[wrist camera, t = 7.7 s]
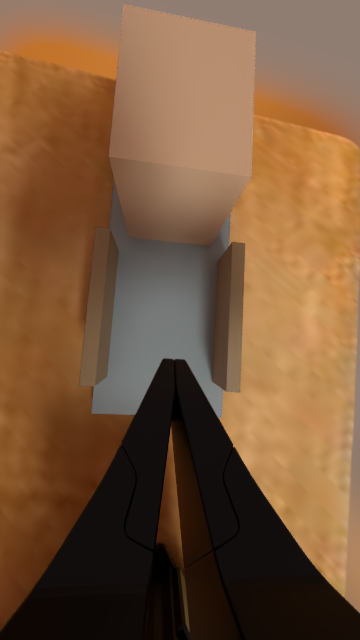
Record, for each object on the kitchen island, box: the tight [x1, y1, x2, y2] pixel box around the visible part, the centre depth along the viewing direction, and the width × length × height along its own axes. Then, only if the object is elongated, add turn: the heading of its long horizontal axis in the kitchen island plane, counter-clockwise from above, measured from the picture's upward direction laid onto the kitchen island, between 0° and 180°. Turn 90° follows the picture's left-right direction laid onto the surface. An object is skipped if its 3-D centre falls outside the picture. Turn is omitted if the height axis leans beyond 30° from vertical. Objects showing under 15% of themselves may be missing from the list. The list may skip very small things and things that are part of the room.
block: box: [109, 4, 256, 246], centre depth 17 cm, size 9×8×9 cm
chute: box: [79, 180, 245, 417], centre depth 19 cm, size 26×11×5 cm, turn 176°
